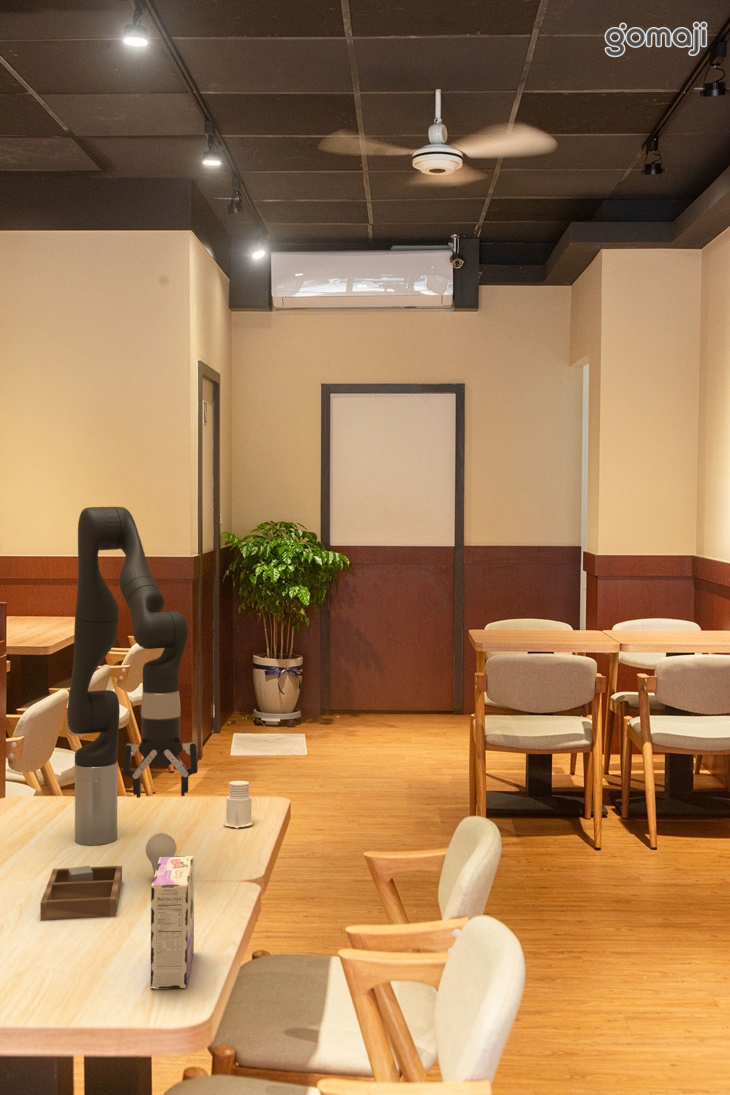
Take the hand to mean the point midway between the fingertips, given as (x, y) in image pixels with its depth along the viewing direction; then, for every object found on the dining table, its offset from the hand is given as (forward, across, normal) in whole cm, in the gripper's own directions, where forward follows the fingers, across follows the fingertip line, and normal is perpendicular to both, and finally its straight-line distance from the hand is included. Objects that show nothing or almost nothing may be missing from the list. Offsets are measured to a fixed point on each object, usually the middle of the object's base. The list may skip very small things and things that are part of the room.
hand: (160, 796), depth 209 cm
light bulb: (+18, 0, 0) cm, 18 cm away
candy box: (+18, -3, +40) cm, 44 cm away
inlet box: (+18, +14, +9) cm, 24 cm away
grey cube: (+17, +15, +4) cm, 23 cm away
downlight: (+18, -17, -38) cm, 45 cm away
